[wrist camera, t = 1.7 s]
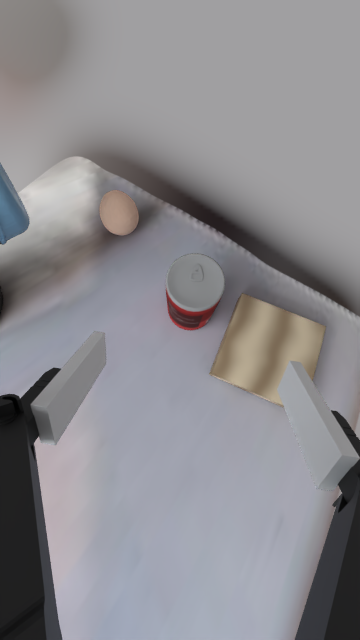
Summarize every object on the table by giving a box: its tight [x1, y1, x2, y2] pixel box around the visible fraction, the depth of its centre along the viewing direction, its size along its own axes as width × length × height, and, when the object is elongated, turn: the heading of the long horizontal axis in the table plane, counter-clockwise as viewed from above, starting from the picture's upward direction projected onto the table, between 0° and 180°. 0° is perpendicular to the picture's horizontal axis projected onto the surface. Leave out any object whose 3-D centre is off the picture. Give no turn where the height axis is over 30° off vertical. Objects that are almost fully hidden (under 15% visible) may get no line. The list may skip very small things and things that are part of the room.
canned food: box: [166, 254, 225, 330], centre depth 33 cm, size 8×8×11 cm
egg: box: [99, 190, 139, 236], centre depth 39 cm, size 7×7×8 cm
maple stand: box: [209, 293, 326, 407], centre depth 35 cm, size 14×14×3 cm
